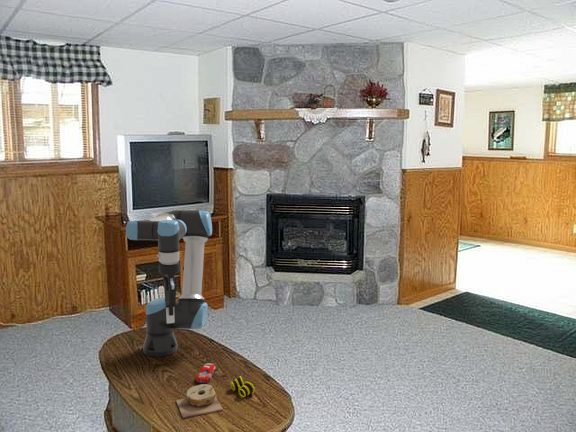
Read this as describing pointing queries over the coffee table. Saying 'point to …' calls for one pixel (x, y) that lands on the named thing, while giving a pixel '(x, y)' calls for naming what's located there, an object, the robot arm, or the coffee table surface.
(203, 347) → the coffee table surface
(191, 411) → the walnut board
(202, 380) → the race car
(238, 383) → the opera glasses
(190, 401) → the stone disc
